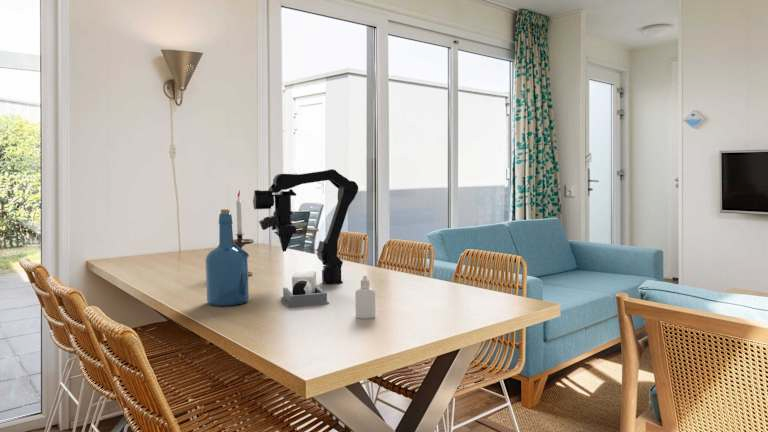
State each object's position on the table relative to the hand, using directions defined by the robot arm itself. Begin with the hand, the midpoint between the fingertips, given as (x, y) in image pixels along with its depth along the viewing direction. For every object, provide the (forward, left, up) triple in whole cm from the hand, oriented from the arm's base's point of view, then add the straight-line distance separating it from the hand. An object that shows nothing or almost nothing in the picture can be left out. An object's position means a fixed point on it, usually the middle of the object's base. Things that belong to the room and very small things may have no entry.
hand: (284, 251), depth 202 cm
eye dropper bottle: (-14, +53, -13) cm, 56 cm away
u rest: (-2, +25, -13) cm, 28 cm away
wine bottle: (+21, +18, -13) cm, 31 cm away
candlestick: (+13, -30, -13) cm, 35 cm away
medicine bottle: (-4, +17, -8) cm, 19 cm away
